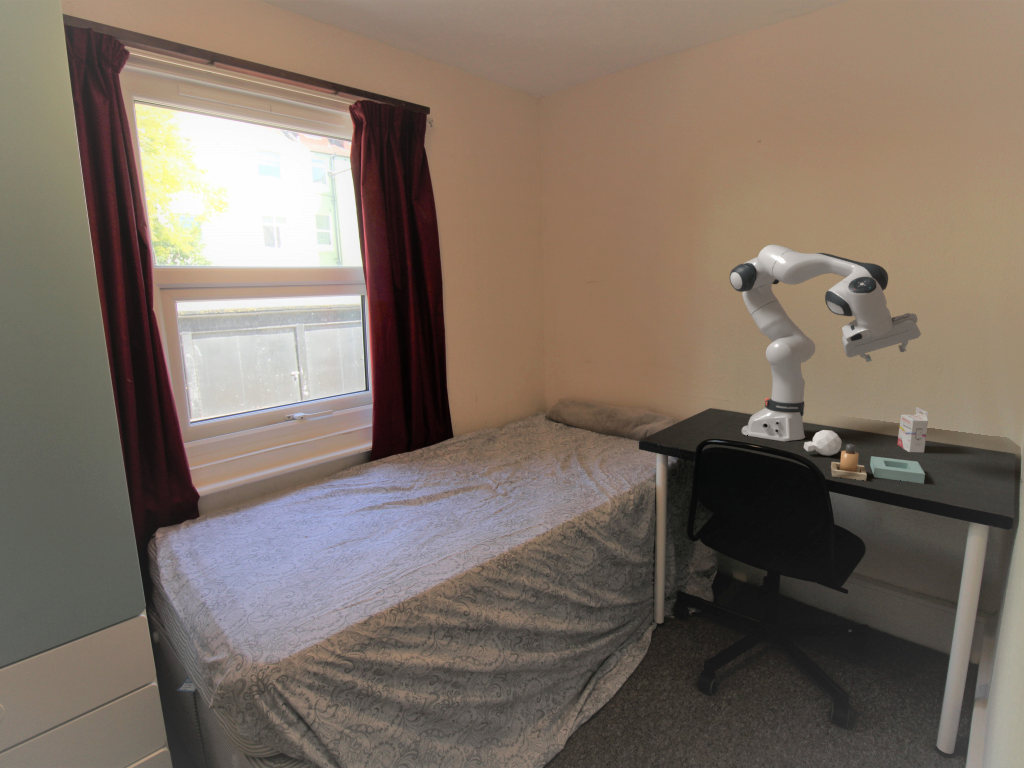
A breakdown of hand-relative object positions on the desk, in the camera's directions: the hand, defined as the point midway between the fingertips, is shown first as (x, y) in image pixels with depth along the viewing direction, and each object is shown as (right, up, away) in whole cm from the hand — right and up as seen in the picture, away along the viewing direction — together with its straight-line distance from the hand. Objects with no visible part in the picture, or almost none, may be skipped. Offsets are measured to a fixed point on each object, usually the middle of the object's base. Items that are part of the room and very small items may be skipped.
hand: (885, 355), depth 168 cm
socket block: (0, -37, -5) cm, 38 cm away
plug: (-15, -37, -4) cm, 41 cm away
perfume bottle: (-12, -34, +15) cm, 39 cm away
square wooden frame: (-15, -37, -4) cm, 41 cm away
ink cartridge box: (+22, -33, +18) cm, 43 cm away
